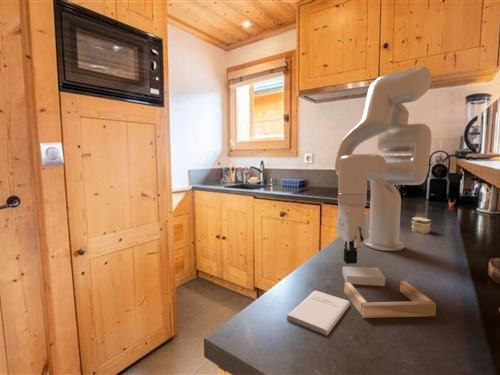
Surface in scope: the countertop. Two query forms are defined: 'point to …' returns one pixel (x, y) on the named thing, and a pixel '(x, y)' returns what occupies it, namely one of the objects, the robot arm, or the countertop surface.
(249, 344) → the countertop surface
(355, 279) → the light grey slab
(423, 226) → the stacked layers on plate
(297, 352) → the countertop surface
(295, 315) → the external hard drive
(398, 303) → the pine rack
